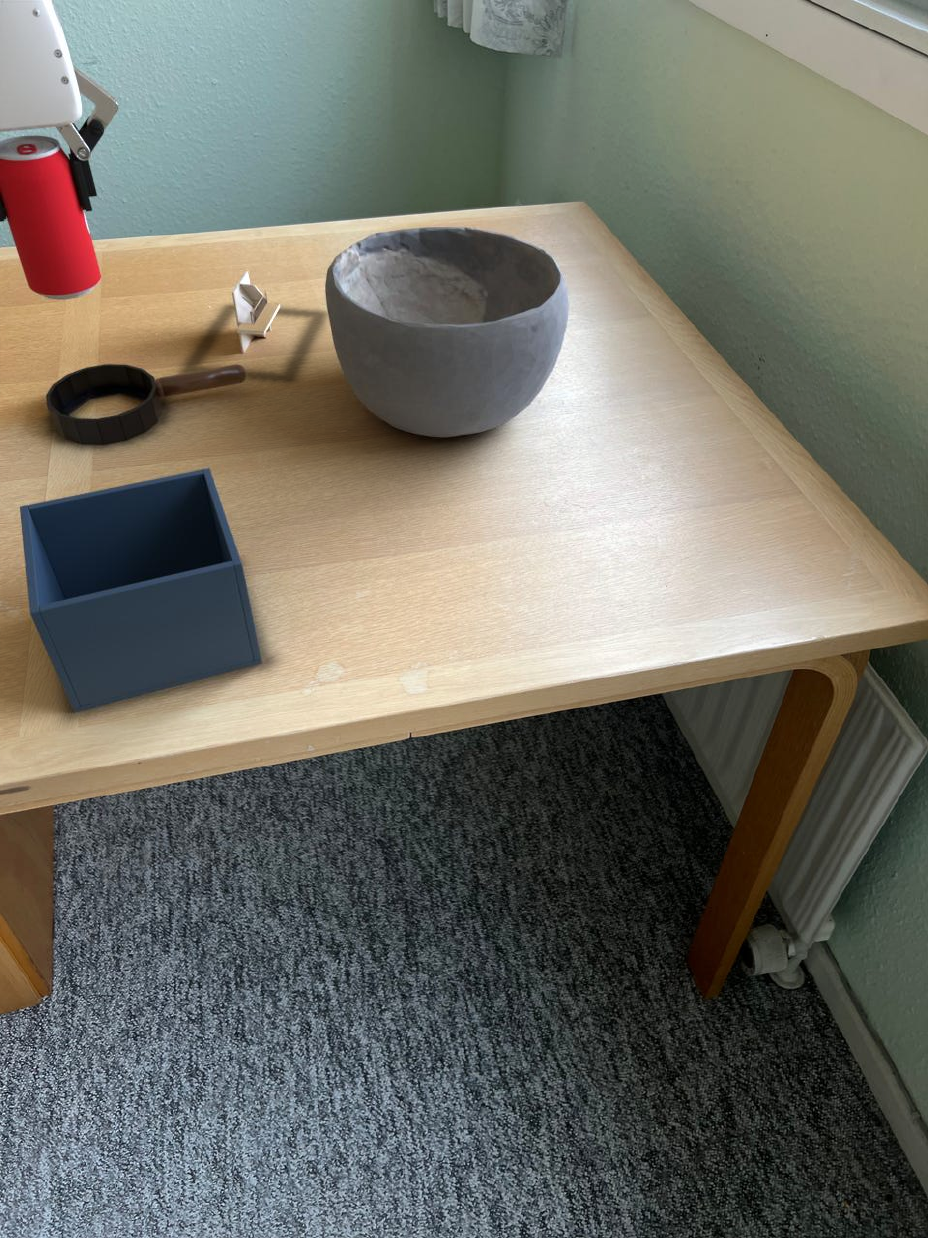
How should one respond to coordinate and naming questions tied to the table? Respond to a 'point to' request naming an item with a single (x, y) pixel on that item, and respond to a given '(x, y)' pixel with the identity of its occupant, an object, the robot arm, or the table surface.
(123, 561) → the bin
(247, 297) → the architectural model
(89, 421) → the pan
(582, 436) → the table surface
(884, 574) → the table surface
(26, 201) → the beverage can
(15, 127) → the robot arm
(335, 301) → the bowl
